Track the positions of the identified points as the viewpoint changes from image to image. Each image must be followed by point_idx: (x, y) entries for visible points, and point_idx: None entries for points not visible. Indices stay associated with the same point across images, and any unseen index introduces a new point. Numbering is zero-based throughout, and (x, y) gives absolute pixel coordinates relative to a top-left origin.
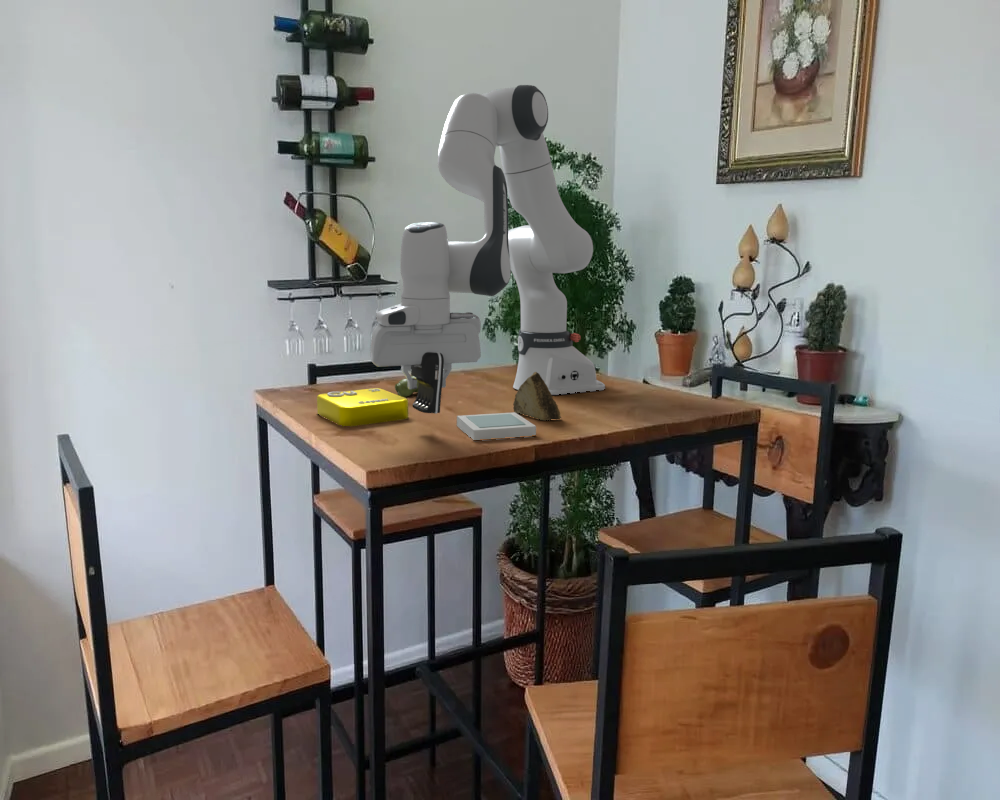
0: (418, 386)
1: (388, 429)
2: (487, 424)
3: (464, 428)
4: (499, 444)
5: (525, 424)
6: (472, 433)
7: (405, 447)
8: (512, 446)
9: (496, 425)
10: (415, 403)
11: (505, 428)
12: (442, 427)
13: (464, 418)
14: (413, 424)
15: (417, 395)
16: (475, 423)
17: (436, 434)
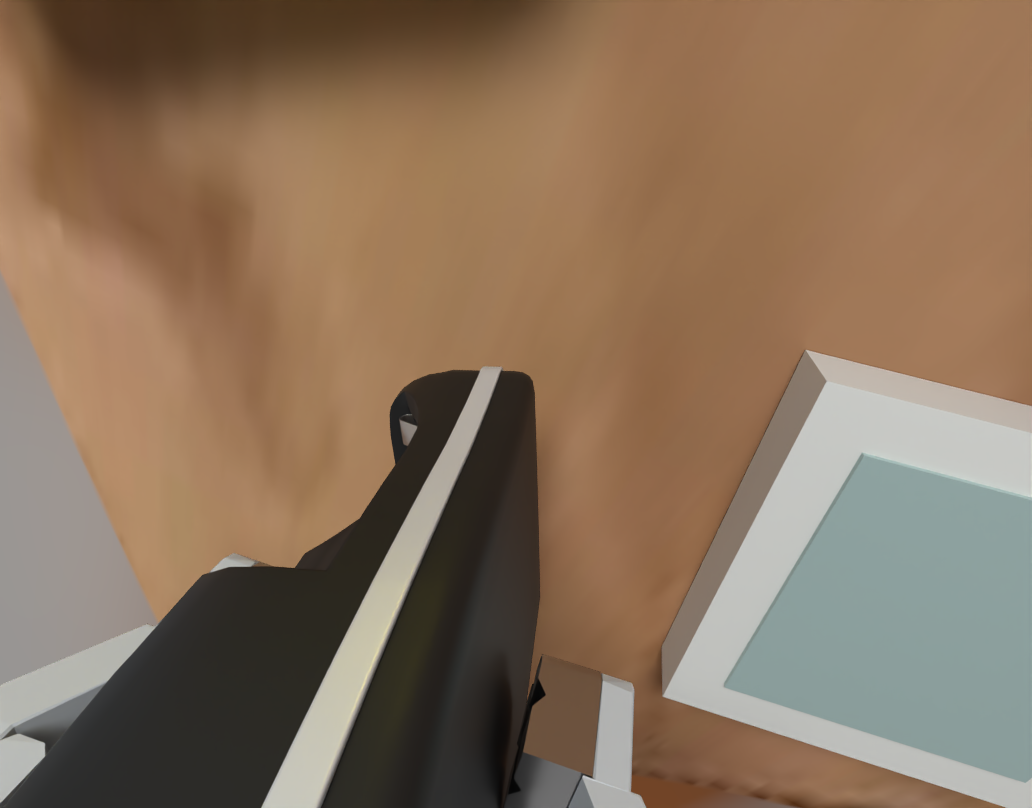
0: (393, 471)
1: (334, 203)
2: (810, 678)
3: (728, 532)
4: (732, 731)
5: (1022, 779)
6: (669, 661)
7: None
8: (759, 773)
9: (840, 714)
10: (403, 440)
11: (846, 754)
12: (687, 333)
13: (814, 480)
14: (542, 138)
15: (418, 423)
16: (764, 628)
17: (561, 459)
